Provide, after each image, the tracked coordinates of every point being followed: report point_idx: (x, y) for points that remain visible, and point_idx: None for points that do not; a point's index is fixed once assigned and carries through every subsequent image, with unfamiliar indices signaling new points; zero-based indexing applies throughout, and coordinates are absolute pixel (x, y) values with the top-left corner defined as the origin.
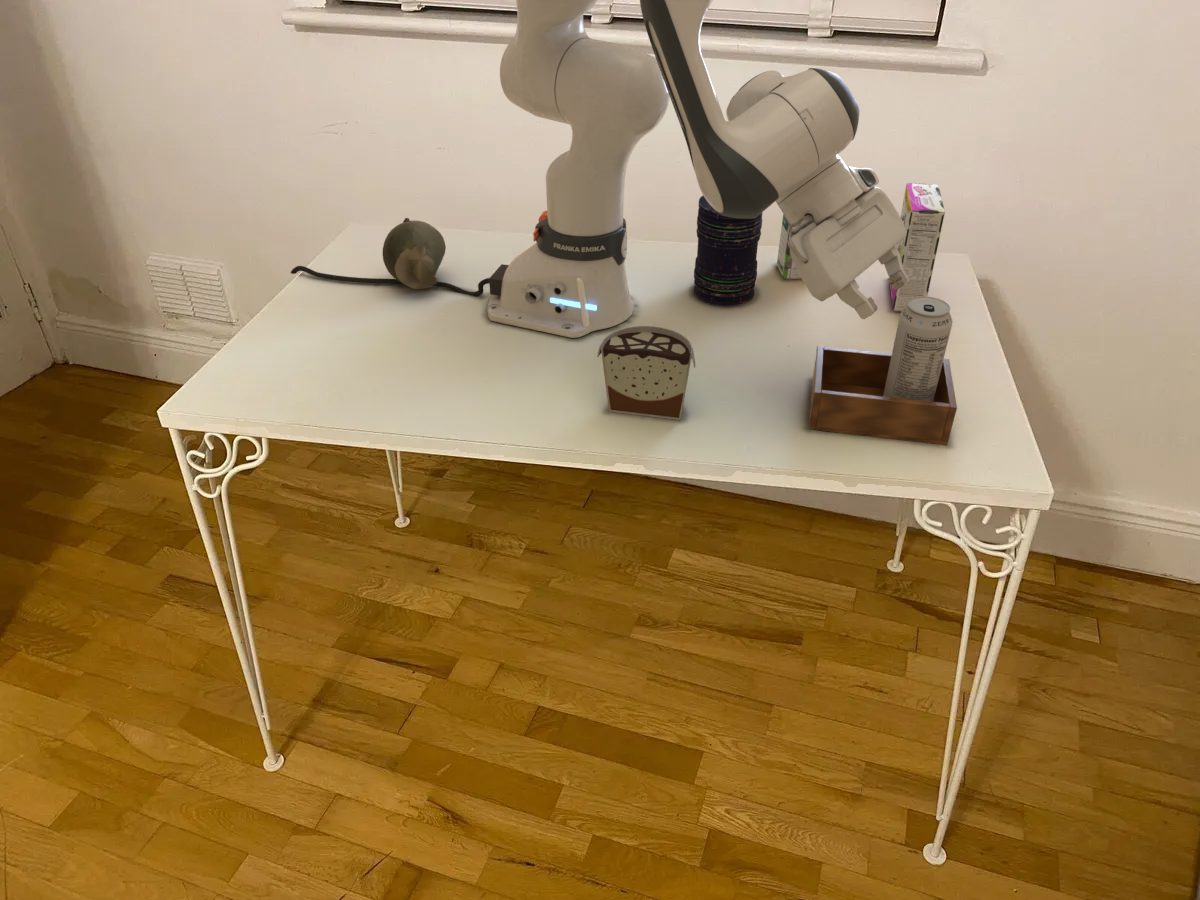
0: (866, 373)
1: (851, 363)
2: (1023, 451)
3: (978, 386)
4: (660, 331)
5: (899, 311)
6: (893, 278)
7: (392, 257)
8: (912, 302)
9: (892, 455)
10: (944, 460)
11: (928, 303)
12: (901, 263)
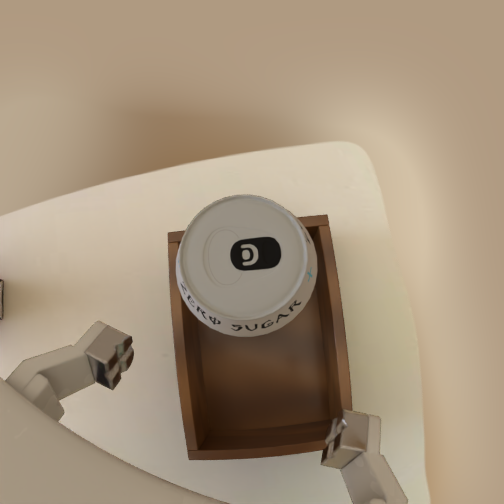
0: (196, 366)
1: (196, 396)
2: (294, 151)
3: (151, 203)
4: None
5: (2, 310)
6: (112, 372)
7: None
8: (230, 305)
9: (365, 305)
10: (351, 238)
11: (221, 256)
12: (57, 351)
